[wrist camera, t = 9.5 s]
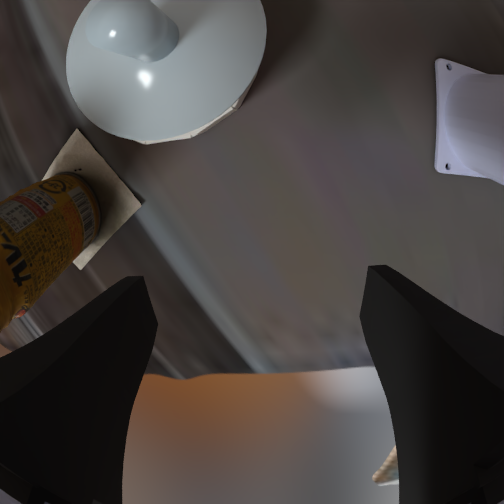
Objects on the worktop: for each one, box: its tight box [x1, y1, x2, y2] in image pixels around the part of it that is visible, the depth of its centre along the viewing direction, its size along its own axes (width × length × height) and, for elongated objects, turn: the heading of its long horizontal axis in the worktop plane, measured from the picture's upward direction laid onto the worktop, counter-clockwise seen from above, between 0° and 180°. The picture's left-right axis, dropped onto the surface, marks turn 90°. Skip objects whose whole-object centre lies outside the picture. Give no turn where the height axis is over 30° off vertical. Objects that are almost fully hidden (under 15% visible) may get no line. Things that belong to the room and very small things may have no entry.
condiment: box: [0, 129, 142, 333], centre depth 13 cm, size 7×8×12 cm
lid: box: [66, 0, 267, 141], centre depth 8 cm, size 10×10×5 cm
